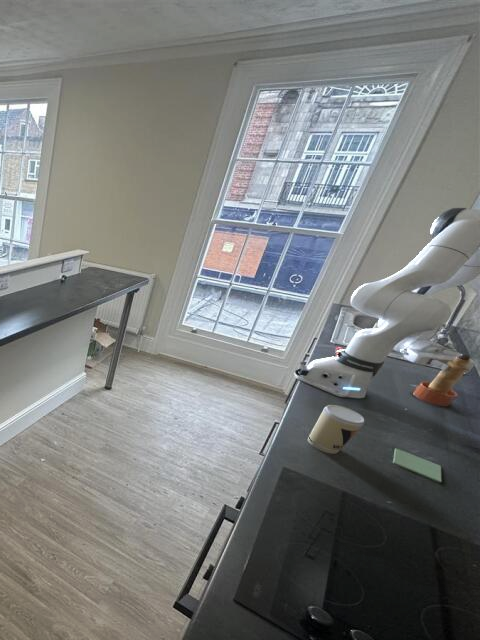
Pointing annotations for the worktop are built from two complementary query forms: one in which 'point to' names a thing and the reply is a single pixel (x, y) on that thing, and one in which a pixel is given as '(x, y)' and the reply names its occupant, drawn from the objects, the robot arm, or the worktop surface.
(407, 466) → the plate
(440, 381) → the pepper mill
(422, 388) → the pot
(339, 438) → the coffee cup
